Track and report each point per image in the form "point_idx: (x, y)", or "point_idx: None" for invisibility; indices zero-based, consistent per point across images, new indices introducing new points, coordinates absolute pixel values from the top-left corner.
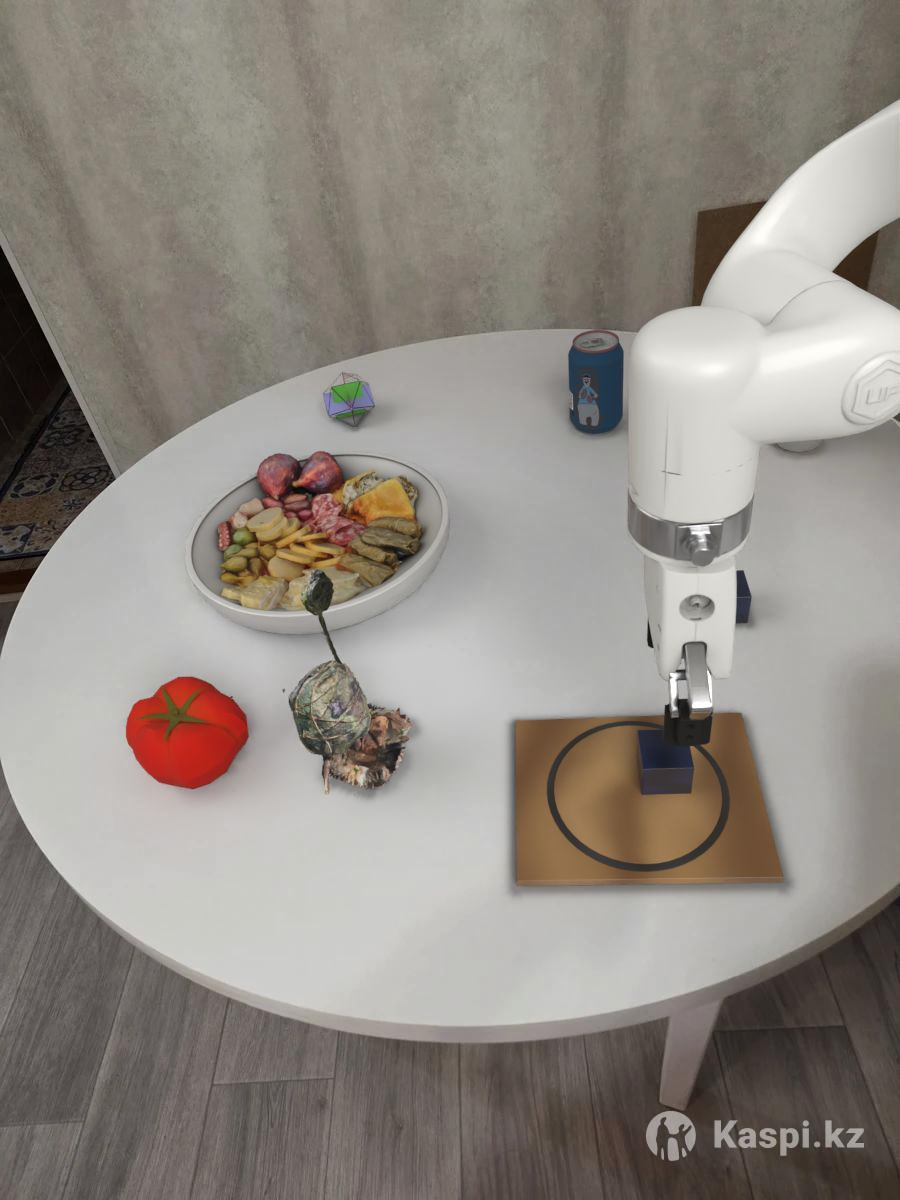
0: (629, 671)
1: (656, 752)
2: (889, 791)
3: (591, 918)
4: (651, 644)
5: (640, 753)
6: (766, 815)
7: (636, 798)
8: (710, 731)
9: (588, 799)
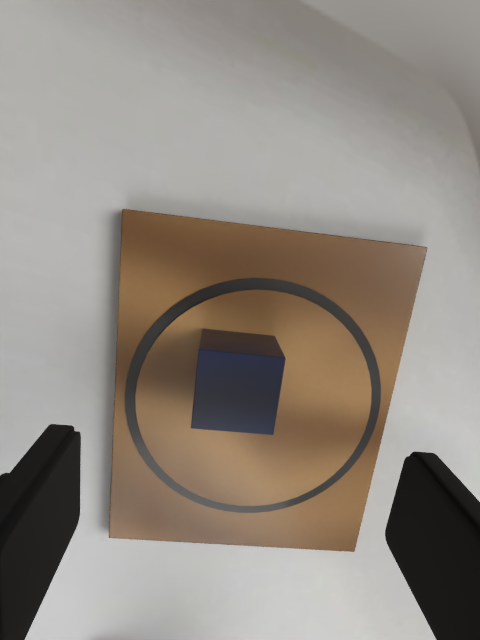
0: (7, 362)
1: (243, 409)
2: (310, 7)
3: None
4: (73, 529)
5: (238, 431)
6: (329, 237)
7: None
8: (462, 484)
9: (260, 467)
